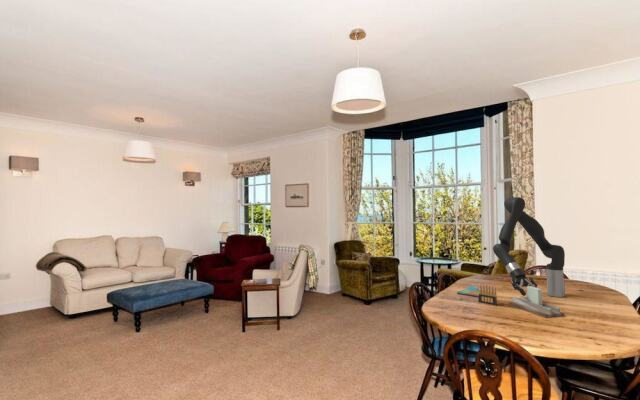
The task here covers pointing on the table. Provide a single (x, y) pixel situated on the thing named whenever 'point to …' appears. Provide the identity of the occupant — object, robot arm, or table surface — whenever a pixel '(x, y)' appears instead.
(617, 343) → the table surface
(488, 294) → the ammunition clip
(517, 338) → the table surface
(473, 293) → the dish towel
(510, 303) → the board
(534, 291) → the door panel
